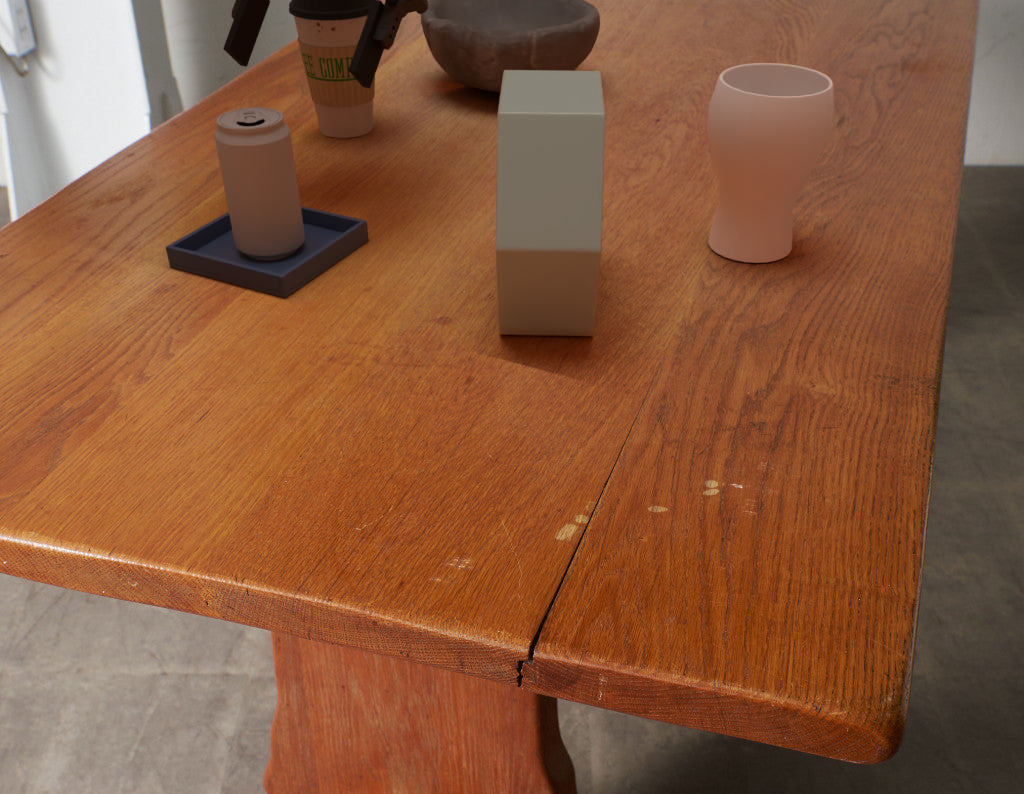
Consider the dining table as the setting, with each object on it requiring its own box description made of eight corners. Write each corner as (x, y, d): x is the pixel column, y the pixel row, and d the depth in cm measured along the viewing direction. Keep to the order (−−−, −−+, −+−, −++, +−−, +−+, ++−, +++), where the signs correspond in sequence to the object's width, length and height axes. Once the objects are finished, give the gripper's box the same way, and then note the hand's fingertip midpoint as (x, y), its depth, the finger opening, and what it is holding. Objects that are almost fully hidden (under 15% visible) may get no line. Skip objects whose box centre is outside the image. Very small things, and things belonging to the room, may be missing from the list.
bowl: (629, 100, 127) (636, 14, 121) (466, 127, 120) (463, 37, 114) (547, 52, 143) (548, -26, 137) (398, 73, 136) (392, -8, 130)
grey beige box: (503, 341, 90) (506, 101, 88) (589, 342, 90) (595, 102, 88) (494, 327, 74) (497, 31, 71) (600, 328, 73) (607, 31, 71)
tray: (169, 267, 92) (165, 246, 90) (260, 215, 101) (256, 195, 99) (285, 298, 87) (282, 277, 86) (369, 240, 96) (367, 220, 95)
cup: (829, 246, 95) (865, 79, 85) (762, 282, 89) (792, 108, 80) (737, 212, 101) (761, 53, 91) (669, 244, 95) (686, 78, 86)
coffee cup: (291, 139, 117) (271, -3, 107) (323, 112, 124) (307, -23, 114) (371, 146, 115) (358, 3, 105) (399, 118, 122) (389, -19, 113)
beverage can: (239, 267, 90) (213, 132, 83) (233, 238, 95) (209, 108, 87) (310, 258, 92) (291, 125, 84) (301, 230, 97) (283, 101, 89)
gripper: (512, -112, 89) (432, 112, 89) (285, -132, 98) (211, 71, 97) (482, -178, 82) (395, 64, 81) (240, -193, 91) (160, 25, 90)
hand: (295, 68), depth 89 cm, fingers open, 13 cm apart
